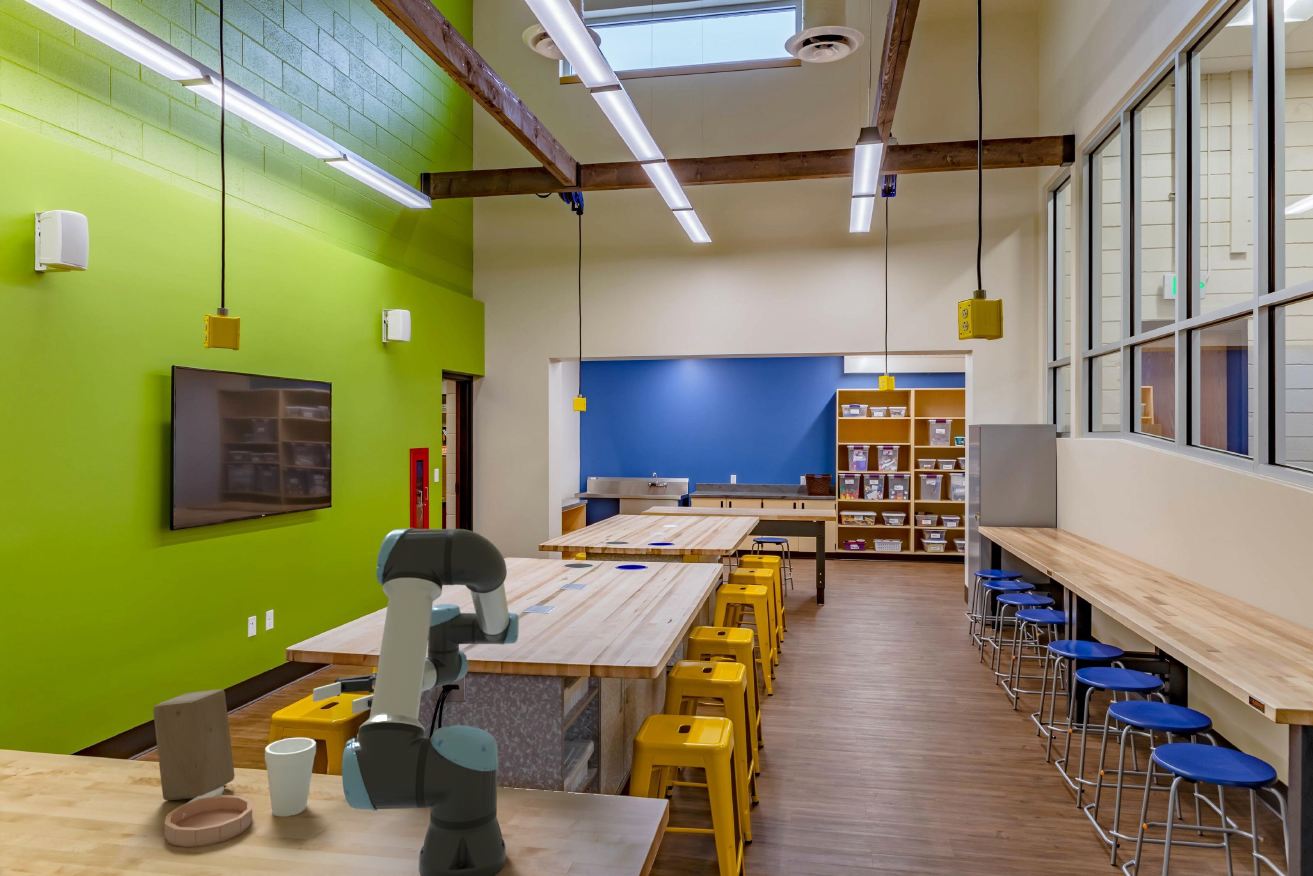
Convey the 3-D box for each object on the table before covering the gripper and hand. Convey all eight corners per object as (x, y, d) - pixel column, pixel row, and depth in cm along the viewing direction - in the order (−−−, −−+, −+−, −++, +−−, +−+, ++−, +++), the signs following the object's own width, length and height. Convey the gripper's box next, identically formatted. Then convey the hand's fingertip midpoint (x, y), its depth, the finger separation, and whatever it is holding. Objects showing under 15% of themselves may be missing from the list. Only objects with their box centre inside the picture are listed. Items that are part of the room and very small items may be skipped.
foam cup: (253, 813, 160) (255, 748, 161) (293, 796, 169) (294, 734, 169) (284, 824, 156) (286, 757, 156) (324, 805, 164) (325, 742, 164)
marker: (228, 793, 172) (180, 824, 156) (219, 789, 172) (170, 819, 156) (232, 781, 172) (185, 811, 156) (224, 777, 172) (176, 807, 156)
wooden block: (202, 799, 163) (191, 701, 164) (161, 802, 165) (150, 705, 166) (237, 779, 173) (226, 687, 174) (197, 783, 174) (187, 692, 175)
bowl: (267, 824, 156) (267, 807, 156) (189, 855, 144) (190, 837, 144) (226, 805, 164) (226, 789, 164) (149, 833, 152) (150, 816, 152)
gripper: (448, 703, 182) (370, 730, 164) (377, 684, 195) (298, 707, 178) (448, 671, 182) (370, 694, 164) (377, 654, 196) (299, 674, 178)
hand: (332, 701), depth 171 cm, fingers open, 13 cm apart
